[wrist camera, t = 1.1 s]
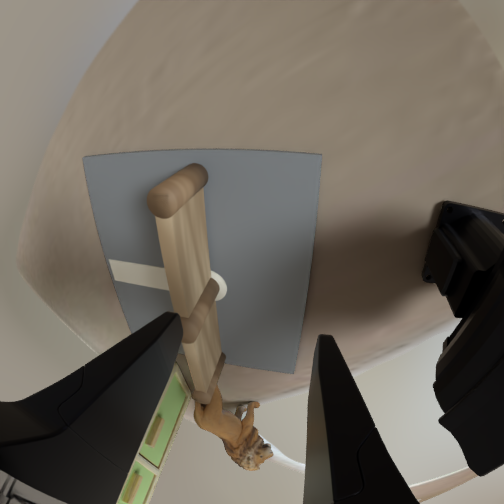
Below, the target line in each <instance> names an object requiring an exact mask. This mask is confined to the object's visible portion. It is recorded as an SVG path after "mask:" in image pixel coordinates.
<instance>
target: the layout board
mask: <svg viewBox="0 0 504 504" xmlns="http://www.w3.org/2000/svg"><path fill="white" fill-rule="evenodd" d="M321 162H322V154H315V153H304V152H291V151H275V150H253V149H172V150H150V151H135V152H122V153H111V154H101V155H92V156H85V157H83V164H84V170H85V175H86V181H87V186H88V191H89V196H90V200H91V205H92V209H93V214H94V218H95V222H96V226H97V230H98V234H99V237H100V241H101V245H102V248H103V252H104V255H105V259H106V262H107V265H108V269H109V272H110V275H111V278H112V281H113V284H114V287H115V290H116V293H117V296H118V299H119V302H120V304H121V307H122V310H123V312H124V315H125V318H126V320H127V323H128V326H129V328H130V331H131V333H134V332H135V331H137V330H139V329H140V328H142V327H143V326H145V325H146V324H148V323H149V322H151V321H152V320H154V319H155V318H157V317H158V316H160V315H161V314H163V313H164V312H166V311H171V312H174V309H173V304H172V300H171V296H170V291H169V287H168V282H167V277H166V273H165V268H164V263H163V258H162V252H161V247H160V242H159V236H158V230H157V224H156V218H155V215H154V214H152V212H151V211H150V210H149V208H148V205H147V195H148V193H149V191H150V190H151V189H153V188H154V187H156V186H157V185H159V184H160V183H162V182H163V181H165V180H166V179H167V178H169V177H171V176H172V175H174V174H175V173H177V172H178V171H180V170H181V169H183V168H184V167H186V166H188V165H189V164H192V163H198V164H200V165H202V166H203V167H204V168H205V169H206V170H207V172H208V182H207V184H206V185H205V186H204V187H203V188H204V202H205V215H206V227H207V238H208V249H209V259H210V269H211V278H213V279H214V280H216V281H217V283H218V284H219V287H220V290H219V292H218V295H217V297H216V299H215V301H216V308H217V317H218V325H219V334H220V342H221V350H222V352H223V353H224V354H225V355H226V360H225V362H224V363H226V364H231V365H237V366H243V367H248V368H255V369H261V370H268V371H275V372H282V373H290V374H294V370H295V365H296V360H297V354H298V349H299V343H300V337H301V331H302V325H303V319H304V312H305V306H306V299H307V292H308V285H309V278H310V270H311V262H312V254H313V246H314V238H315V229H316V219H317V209H318V199H319V187H320V175H321ZM178 353H180V354H184V355H185V352H184V348H183V344H182V342H181V344H180V347H179V351H178Z"/></svg>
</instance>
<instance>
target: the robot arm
mask: <svg viewBox="0 0 504 504" xmlns="http://www.w3.org/2000/svg"><path fill="white" fill-rule="evenodd" d="M450 206H451V209H450V210H449V211H447V208H448V207H450ZM503 219H504V213H500V212H496V211H492V210H488V209H484V208H480V207H475V206H471V205H466V204H462V203H457V202H452V201H446V202H444V204H443V205H442V208H441V212H440V216H439V220H438V224H437V227H436V229H435V230H434V231H433V235H432V238H431V241H430V245H429V248H428V251H427V254H426V257H425V261H426V263H425V266H424V269H423V272H422V278H423V281H424V282H428V283H436V284H437V287H438V289H439V291H440V293H441V295H442V296H446V298H447V300H448V302H449V305H450V307H451V309H452V312H453V314H454V316H455V317H456V318H462V320H461V321H460V323H459V324H458V326H457V327H456V328H455V330H454V331H453V333H452V334H451V335H450V337H447V338H446V340H445V341H444V342H443V352H442V354H441V355H440V357H439V360H438V362H437V364H436V381H435V382H434V384H433V388H434V392H435V396H436V399H437V401H438V403H439V405H440V407H441V409H442V410H443V412H444V413H445V414H444V415H443V416H442V417H440V418H439V420H438V421H439V423H440V424H441V425H442V426H443V427H444V428H446V429H447V430H448V431H450V432H451V434H452V435H453V436H454V438H455V439H456V440H457V441H458V443H459V445H460V447H461V449H462V451H463V453H464V456H465V459H466V461H467V464H468V466H469V468H470V469H471V470H472V471H474V472H475V473H476V474H477V475H478V476H484V475H486V474H488V473H490V472H491V471H493V470H495V469H497V468H498V467H500V466H502V465H503V464H504V221H503ZM502 221H503V222H502ZM428 274H430V275H429V276H428V277H426V276H427V275H428ZM182 338H183V327H182V323H181V318H180V315H179V314H178V313H176V312H171V311H166V312H164V313H163V314H161V315H160V316H158V317H157V318H155V319H154V320H152V321H151V322H149V323H148V324H146V325H145V326H143V327H142V328H140V329H139V330H137V331H135V332H134V333H132V334H131V335H129V336H128V337H126V338H125V339H123V340H122V341H120V342H119V343H117V344H116V345H114V346H113V347H111V348H110V349H108V350H107V351H105V352H104V353H102V354H101V355H99V356H98V357H96V358H95V359H93V360H92V361H90V362H89V363H87V364H85V366H82V367H81V368H80V369H78V370H76V371H75V372H73V373H71V374H70V375H68V376H67V377H65V378H63V379H61V380H60V381H58V382H56V383H54V384H53V385H51V386H49V387H47V388H45V389H43V390H41V391H39V392H37V393H35V394H33V395H31V396H29V397H27V398H25V399H23V400H19V401H15V402H1V401H0V504H116V503H117V501H118V498H119V496H120V493H121V491H122V488H123V486H124V483H125V481H126V479H127V476H128V473H129V471H130V469H131V466H132V464H133V461H134V459H135V457H136V454H137V452H138V449H139V447H140V445H141V442H142V440H143V438H144V435H145V433H146V431H147V428H148V426H149V424H150V421H151V419H152V417H153V415H154V412H155V410H156V408H157V405H158V403H159V401H160V399H161V396H162V394H163V392H164V390H165V387H166V385H167V383H168V381H169V378H170V376H171V373H172V370H173V367H174V363H175V360H176V357H177V354H178V351H179V347H180V344H181V341H182ZM374 427H375V423H374V421H373V419H372V417H371V415H370V413H369V411H368V408H367V406H366V404H365V402H364V400H363V398H362V395H361V393H360V391H359V389H358V387H357V385H356V383H355V381H354V379H353V376H352V374H351V372H350V370H349V368H348V366H347V364H346V362H345V360H344V358H343V356H342V354H341V352H340V350H339V348H338V346H337V344H336V342H335V340H334V338H333V336H332V335H325V334H320V335H319V336H318V339H317V344H316V348H315V352H314V358H313V366H312V374H311V381H310V389H309V396H308V417H307V446H306V467H305V484H304V498H303V504H420V503H419V502H418V501H417V499H416V498H415V496H414V495H413V493H412V491H411V490H410V488H409V486H408V485H407V483H406V482H405V480H404V478H403V477H402V475H401V473H400V472H399V470H398V469H397V467H396V465H395V463H394V462H393V460H392V458H391V456H390V455H389V453H388V451H387V449H386V447H385V445H384V443H383V441H382V439H381V437H380V434H379V432H378V430H377V428H376V427H375V428H374Z"/></svg>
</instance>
